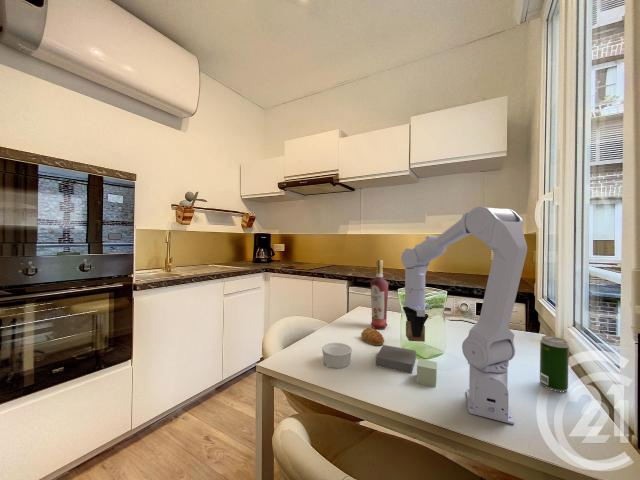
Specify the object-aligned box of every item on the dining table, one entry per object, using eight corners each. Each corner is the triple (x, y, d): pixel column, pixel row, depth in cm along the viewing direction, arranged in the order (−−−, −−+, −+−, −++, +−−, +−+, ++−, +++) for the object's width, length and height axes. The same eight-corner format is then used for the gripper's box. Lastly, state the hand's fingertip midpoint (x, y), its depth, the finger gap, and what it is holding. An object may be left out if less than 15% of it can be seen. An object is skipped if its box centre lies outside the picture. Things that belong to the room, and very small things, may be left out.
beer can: (556, 394, 64) (557, 344, 64) (534, 382, 70) (534, 336, 70) (573, 391, 66) (574, 342, 65) (550, 380, 71) (551, 334, 71)
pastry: (389, 345, 94) (389, 334, 93) (372, 348, 91) (372, 337, 91) (374, 336, 102) (374, 326, 102) (359, 338, 100) (359, 328, 100)
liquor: (391, 327, 112) (392, 260, 112) (382, 331, 107) (382, 261, 106) (376, 323, 117) (376, 259, 117) (366, 327, 112) (367, 260, 111)
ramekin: (357, 362, 80) (357, 348, 80) (338, 373, 74) (339, 357, 74) (334, 353, 86) (335, 340, 86) (315, 362, 80) (315, 348, 80)
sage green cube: (435, 387, 67) (436, 369, 67) (416, 383, 69) (417, 365, 69) (436, 378, 71) (436, 362, 71) (418, 375, 73) (418, 358, 73)
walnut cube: (424, 341, 78) (424, 326, 78) (408, 340, 79) (409, 325, 79) (420, 336, 83) (420, 321, 83) (405, 335, 83) (405, 321, 83)
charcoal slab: (411, 375, 74) (411, 364, 74) (375, 367, 78) (375, 357, 78) (415, 360, 83) (415, 350, 83) (383, 354, 87) (383, 344, 87)
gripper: (436, 294, 73) (436, 343, 73) (422, 284, 87) (421, 326, 88) (409, 293, 74) (409, 342, 74) (400, 284, 88) (399, 325, 88)
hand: (414, 333), depth 81 cm, fingers closed on walnut cube, 4 cm apart
